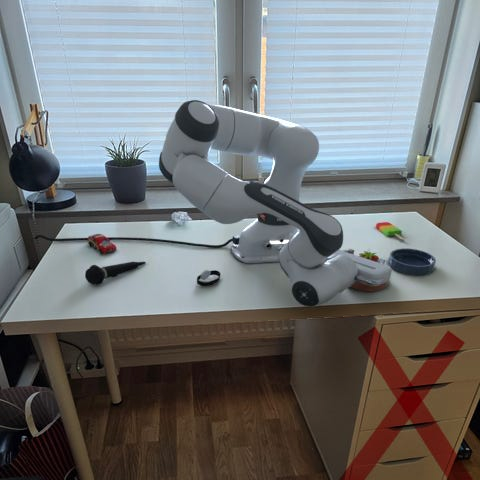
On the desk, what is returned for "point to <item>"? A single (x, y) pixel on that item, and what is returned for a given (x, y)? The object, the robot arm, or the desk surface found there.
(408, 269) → the slate bowl
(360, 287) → the terracotta bowl
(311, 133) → the robot arm
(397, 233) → the popsicle
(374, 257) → the strawberry
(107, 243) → the race car
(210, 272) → the watch
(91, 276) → the microphone
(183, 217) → the crumpled paper
